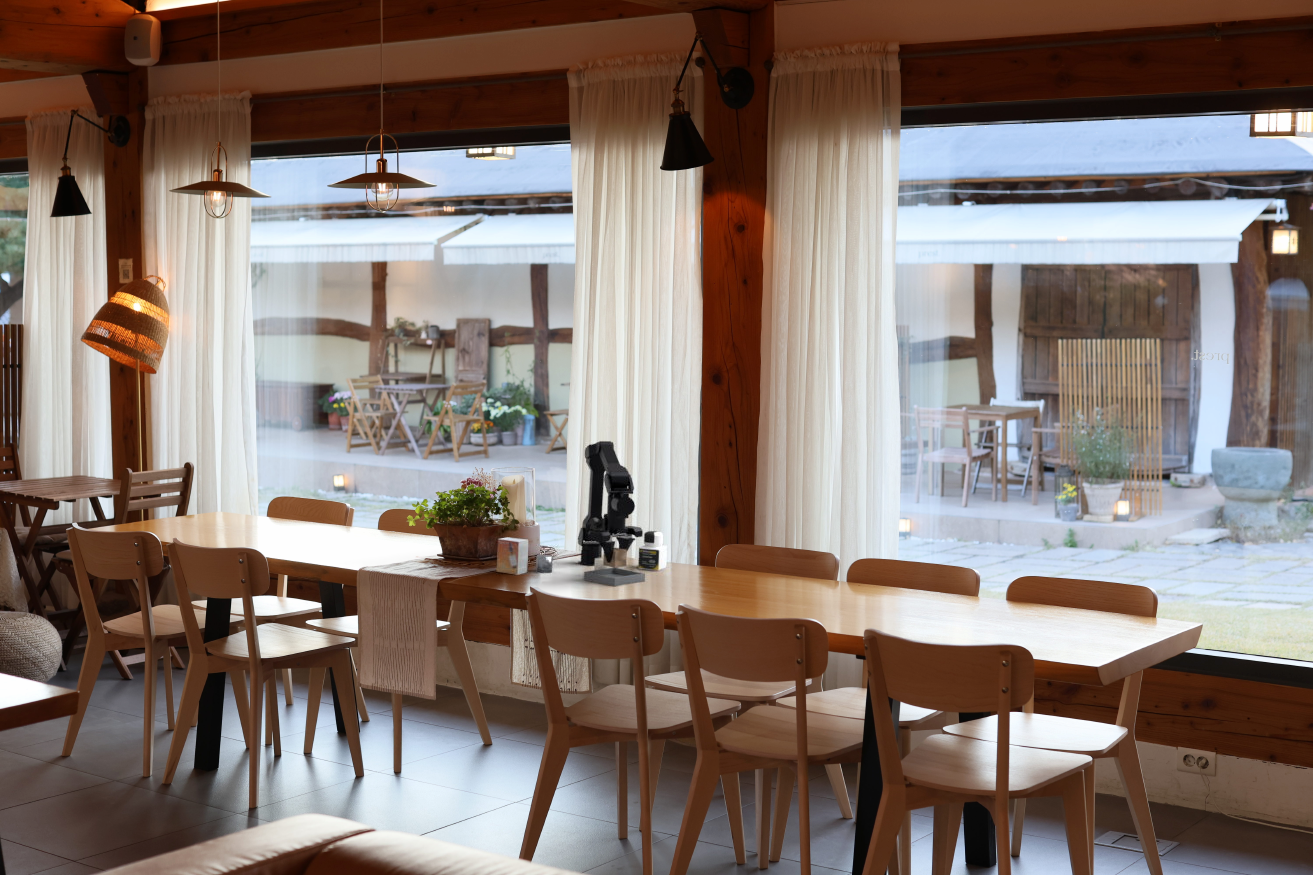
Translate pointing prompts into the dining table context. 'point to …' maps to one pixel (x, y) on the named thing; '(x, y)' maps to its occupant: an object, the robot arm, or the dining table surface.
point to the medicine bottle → (652, 552)
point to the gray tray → (614, 576)
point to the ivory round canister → (600, 564)
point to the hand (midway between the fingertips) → (614, 561)
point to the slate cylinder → (544, 563)
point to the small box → (512, 555)
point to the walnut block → (616, 558)
